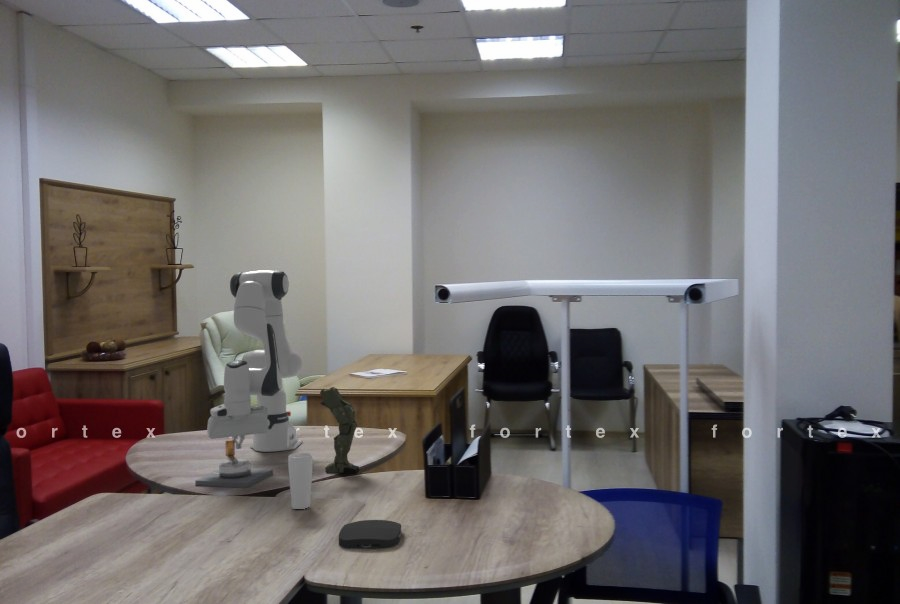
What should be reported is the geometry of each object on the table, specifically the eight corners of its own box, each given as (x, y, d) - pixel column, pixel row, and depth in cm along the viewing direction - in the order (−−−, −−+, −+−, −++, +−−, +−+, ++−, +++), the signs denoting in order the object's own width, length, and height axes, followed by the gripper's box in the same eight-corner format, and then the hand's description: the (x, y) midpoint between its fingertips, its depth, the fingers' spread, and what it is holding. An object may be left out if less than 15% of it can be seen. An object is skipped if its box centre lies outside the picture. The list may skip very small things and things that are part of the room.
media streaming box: (346, 530, 187) (346, 518, 187) (403, 530, 187) (403, 518, 187) (335, 550, 173) (335, 537, 173) (397, 550, 172) (397, 537, 172)
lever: (253, 475, 237) (253, 447, 237) (221, 479, 233) (221, 450, 233) (244, 465, 252) (244, 438, 252) (214, 468, 247) (214, 441, 247)
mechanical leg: (370, 466, 252) (348, 382, 252) (365, 471, 245) (343, 384, 245) (332, 475, 253) (311, 391, 254) (327, 480, 246) (305, 394, 247)
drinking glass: (318, 507, 206) (317, 454, 206) (298, 512, 201) (297, 458, 201) (303, 502, 211) (303, 451, 211) (284, 508, 206) (283, 455, 206)
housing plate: (224, 471, 250) (224, 466, 250) (272, 473, 246) (272, 468, 246) (195, 485, 232) (195, 479, 232) (246, 487, 229) (246, 482, 229)
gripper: (265, 404, 257) (266, 443, 257) (205, 409, 247) (206, 450, 247) (270, 407, 251) (271, 446, 252) (209, 412, 242) (210, 454, 242)
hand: (238, 448), depth 250 cm, fingers closed
